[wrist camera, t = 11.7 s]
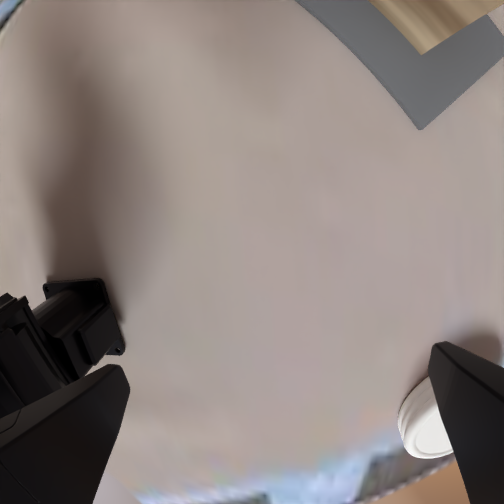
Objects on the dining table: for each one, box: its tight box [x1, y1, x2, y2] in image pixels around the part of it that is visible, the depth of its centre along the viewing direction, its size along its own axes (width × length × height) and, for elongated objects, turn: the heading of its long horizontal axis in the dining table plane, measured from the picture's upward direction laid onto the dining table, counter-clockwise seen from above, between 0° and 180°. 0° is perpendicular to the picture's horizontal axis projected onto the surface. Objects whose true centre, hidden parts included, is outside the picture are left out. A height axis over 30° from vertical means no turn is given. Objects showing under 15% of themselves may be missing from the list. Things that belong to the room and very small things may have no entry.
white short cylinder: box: [398, 376, 453, 458], centre depth 21 cm, size 10×10×4 cm
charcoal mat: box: [295, 0, 504, 130], centre depth 13 cm, size 12×12×1 cm
